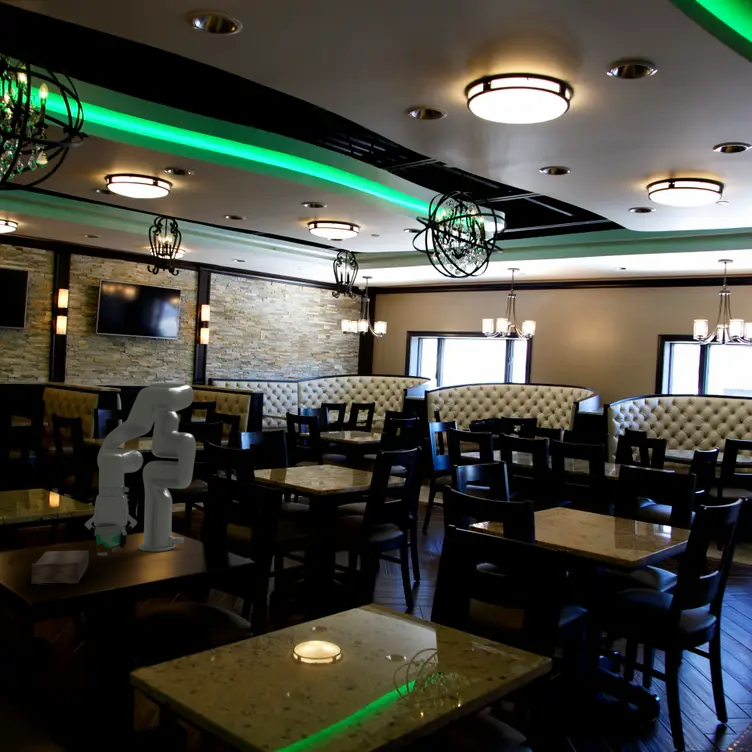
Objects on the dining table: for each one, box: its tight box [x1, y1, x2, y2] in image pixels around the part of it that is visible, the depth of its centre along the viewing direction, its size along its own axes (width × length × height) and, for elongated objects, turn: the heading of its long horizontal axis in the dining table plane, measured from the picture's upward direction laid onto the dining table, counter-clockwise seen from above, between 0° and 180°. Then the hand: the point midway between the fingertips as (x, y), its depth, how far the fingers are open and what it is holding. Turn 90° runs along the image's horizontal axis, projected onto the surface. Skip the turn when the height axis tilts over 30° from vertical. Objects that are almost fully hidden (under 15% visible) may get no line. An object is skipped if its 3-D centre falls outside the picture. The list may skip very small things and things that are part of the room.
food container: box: [95, 525, 126, 559], centre depth 234 cm, size 12×6×10 cm, turn 170°
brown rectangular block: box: [30, 550, 90, 585], centre depth 228 cm, size 13×20×6 cm, turn 13°
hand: (111, 546), depth 233 cm, fingers closed on food container, 6 cm apart
